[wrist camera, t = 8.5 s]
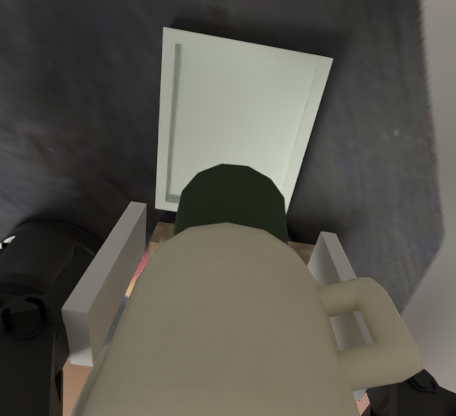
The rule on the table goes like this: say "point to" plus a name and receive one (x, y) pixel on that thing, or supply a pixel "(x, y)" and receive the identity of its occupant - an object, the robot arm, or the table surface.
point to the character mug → (241, 319)
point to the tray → (233, 110)
